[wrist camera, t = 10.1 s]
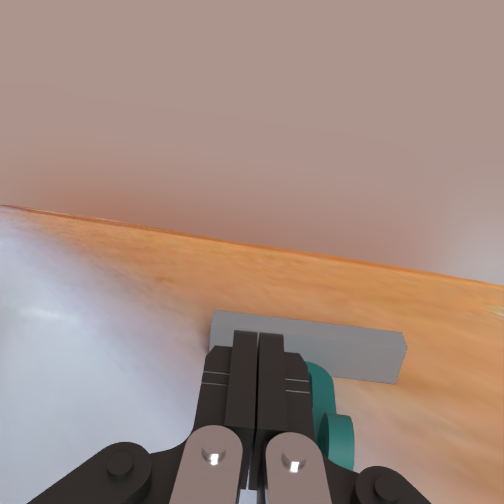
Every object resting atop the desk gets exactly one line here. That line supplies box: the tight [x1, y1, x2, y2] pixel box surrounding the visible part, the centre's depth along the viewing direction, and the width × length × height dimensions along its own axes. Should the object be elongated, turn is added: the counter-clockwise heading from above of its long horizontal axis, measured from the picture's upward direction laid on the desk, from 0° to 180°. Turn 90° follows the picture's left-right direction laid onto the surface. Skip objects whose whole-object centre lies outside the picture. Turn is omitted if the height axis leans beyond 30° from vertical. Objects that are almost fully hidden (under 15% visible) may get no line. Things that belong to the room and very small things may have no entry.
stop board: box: [209, 310, 407, 384], centre depth 59 cm, size 24×3×6 cm, turn 86°
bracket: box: [305, 361, 354, 471], centre depth 49 cm, size 18×7×8 cm, turn 175°
